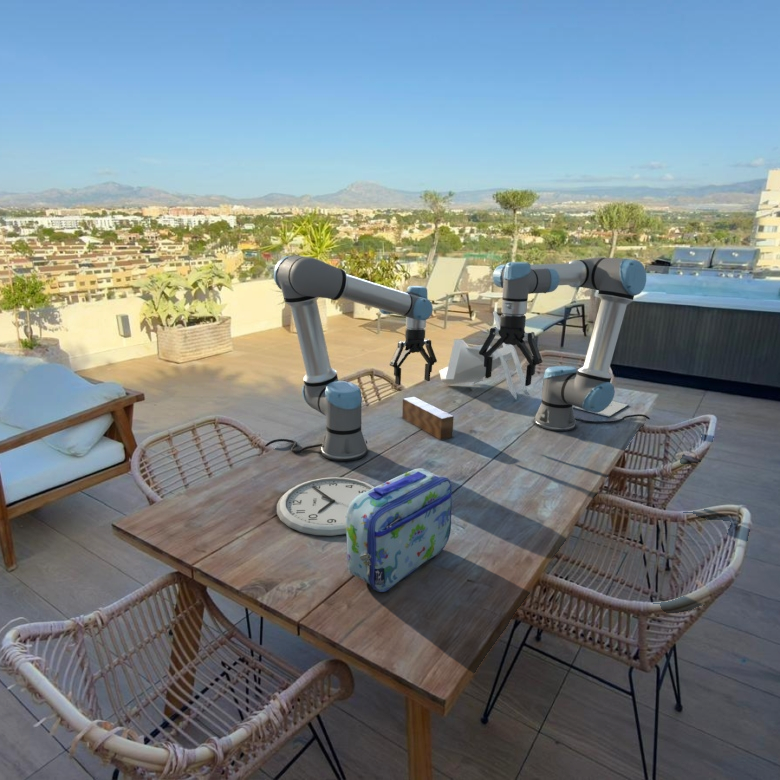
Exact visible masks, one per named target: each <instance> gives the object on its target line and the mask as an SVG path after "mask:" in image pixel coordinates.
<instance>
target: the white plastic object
mask: <svg viewBox="0 0 780 780" xmlns="http://www.w3.org/2000/svg"><path fill="white" fill-rule="evenodd" d="M492 315H493V319H494V321H495V324H496V325H495V326H496V328H498V329H500V320H501V317H500V315H499V314H498V312H497V311H496V310H495V311H492ZM500 338H501V337H500V336H499V339H500ZM482 346H483V344H479V345H473V346H469V345H468V343H466V342H465V340H464V339H463V338H460V339H458V338H454V340H453V344H452V349H451V353H450V357H449V362H448V366H446V367H444V368H442V369H440V370H439V371H438V372H439V376H440V381H442V383H443V384H444V385H445V386H449V385H458V384H467V383H468V384H469V383H473V384H477V383H480V382H482V381H484V378H485V375H486V367H484V356H483V355H480V354H479V351H480V350H481V348H482ZM501 346H502V347H499V348H498V349H497V350H496V351H495V352H494V353H493V354H492V355H491V356H490V357H493V359H492V372H494V371H495V370H496V369H497V368H499V367H500V366H502V370H503V373H504V376H505V380H506V383H507V386H508V390H509V393H510V394H511V395H512V397H513V398H514V399H515V400H517V392H516V391H517V390H516V388H515V385H514V381H513V378H512V375H511V371H510V369H509V365H508V361H510V360H513V363H514V366H515V369H516V372H517V376H518V380H519V382H520V385H521V389H522V391H523V393H524V395H525V396H526V397H528V396H531V395H530V390H529V388H528V387H529V386H525V382H526V377H525V375H524V371H523V369H522V368H523V367H522V366H521V362H520V359H519V355H518V352H517V349H516V347H515V345H511V344H505V343H503V344H502V345H501ZM491 347H492V346H491V345H490V346H489V348H488V349H487V351H488V350H489V349H490V348H491ZM487 351H486V352H487Z"/></svg>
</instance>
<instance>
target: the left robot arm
mask: <svg viewBox="0 0 780 780" xmlns="http://www.w3.org/2000/svg"><path fill="white" fill-rule="evenodd" d="M273 279H274V282H275V284H276V286H277V287H278V288H279V289H280V290H281V292H282V296H283V297H282V298H283V301H284V303H285V304H287V305H289V306H290V309H291V314H292V318H293V322H294V326H295V331H296V336H297V339H298V343H299V347H300V351H301V356H302V360H303V365H304V369H305V374H304V375H303V378H302V379H303V385H302V388H301V395H302V398H303V400H304V401H305V403H306V404H307V405H308V406H309V407H310V408H311V409H313V410H314V411H316V412H318V413H320V414H322V415H323V416H325V418H326V419H325V424H326V425H325V426H326V428H325V429H326V431H325V435H324V437H323V439H322V440H323V441H322V443H317V444H311V445H307V446H304V447H302V448H300V449H295V448H296V447H297V446H298V442H297V441H296V440H293V439H288V438H277V439H272V440H271V441H268V442H266V443H265V445H264V447H268V446H270V445H271V444H274V443H279V442H287V443H291V444H293V445H292V446H291V449H290V451H291V452H292V453H294V454H298V453H302V452H304V451H305V450H308V449H314V448H319V447H320V448H321V449H320V450H321V451H320V452H321V455H322V457H324V458H325V459H327V460H331V461H335V462H353V461H356V460H359V459H361V458H364V457H365V456H366V455H367V453H368V446H367V444H368V441H367V439H365V438H364V434H363V431H362V402H363V397H362V390H361V388H360V387H359V386H358V385H357V384H355V383H354V382H351V381H348V382H347V381H345V380H339V378H338V373H337V370H336V369H334V368H333V367H332V366H331V361H330V356H329V352H328V347H327V342H326V337H325V333H324V328H323V323H322V320H321V315H320V309H319V305H318V299H319V298H323V299H328V300H332V301H339V300H340V299H341V300H344V301H349V302H352V303H356V304H360V305H363V306H366V307H371V308H374V309H378V310H379V312H380V313H381V314H383V315H388V316H389V315H396V316H402V317H405V327H406V328H405V331H404V333H405V334H404V337H405V340H404V341H400V340H399V341H398V342H397V346H396V349H395V351H394V353H393V355H392V357H391V360H390V362H389V366H390V367H392V368H393V376H394V377H395V378H394V382H395V383H394V384H396V385H398V386H401V383H402V368H401V366H402V365H403V364H404V362H405V360H406V359H408V356H409V355H411V354H415V353H420V355H421V356H422V357H423V359H424V361H425V362H426V363H425V364H424V378H423V379H424V381H427V382H430V381H431V373H432V372H433V366H434V365H435V363H437V362H438V360H437V357H436V354H435V351H434V348H433V345H432V340H431V339H428V338H426V329H425V328H427V320H428V319H430V318H431V316H432V313H433V302H431V300H430V299H429V298H428V288H427V287H426V286H420V285H409V286H408V287H407V289H406V292H404V291H401V290H398V289H394V288H392V287H388V286H386V285H381V284H379V283H376V282H372V281H369V280H366V279H363V278H359V277H357V276H353V275H350V274H348V273H347V272H346V270H344V269H342V268H340V267H337V266H334V265H331V264H330V263H327V262H325V261H323V260H320V259H318V258H316V257H311V256H303V255H300V254H293V255H285V256H284V257H282V258H281V259H280V260H278V261H277V262H276V264H275V267H274V269H273ZM424 346H425V348H426V349H425V348H424ZM426 351H427V352H426Z"/></svg>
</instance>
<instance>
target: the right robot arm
mask: <svg viewBox="0 0 780 780" xmlns="http://www.w3.org/2000/svg"><path fill="white" fill-rule="evenodd" d="M492 281H493V284H494V285H495V286H496V287H498V288H502V299H501V310H500V312H501V313H502V314H501V315H500V329H498V328H497V326H493V327H490V329H489V334H488V336H487V338H485V341H484V342H483V344H482V345H483V346H482V348H481V350H480V351H479V354H480V355H483V356H484V367H486V375H485V377H484V378H485V379H489V378H491V377H492V372H493V371H492V359H493V357H490V356H491V355H492V354H493V353H494V352H495V351H496V350H498V349H500V348H501V346H503V345H502V344H503V343H505V344H508V345H510V344H511V345H513V346H517V348H519V350H520V351H521V353H522V355H523V356H524V358H525V359H526V361H527V362H528V364H527V365H526V373H525V374H526V375H525V381H526V382H525V386H527V387H529V386H530V385H532V376H534V375H535V374H536V368H537V367H536V366H537V365H540V364H542V363H543V358H542V356H541V352H540V350H539V348H538V344H537V342H536V333H535V332H534V331H531V332H526V319H527V317H526V314H527V310H528V298H529V295H531V294H548V293H553V292H554V291H556V290H557V289H558V287H559V286H570V287H571V288H584V289H589V290H594V291H598V292H597V296H598V297H599V299H600V303H599V307H598V311H597V314H596V318H595V322H594V325H593V328H592V333H591V337H590V341H589V344H588V348H587V351H586V355H585V358H584V363H583V366H582V367H580V368H578V369H577V367H574V366H569V365H568V366H567V365H557V366H550V367H547V368H546V369H545V371H544V375H543V378H542V379H543V381H542V392H541V402H540V405H539V407H538V410H537V411H536V413H535V417H534V424H535V425H536V426H537V427H539V428H542V429H544V430H549V431H556V432H567V431H572V430H574V429H575V428H576V421H577V422H582V423H588V424H589V423H590V424H614V423H620V422H622V421H624V420H625V419H627V418H635V417H643V418H645V419H647V420H651V418H650V417H649V416H648V415H646V414H642V413H638V414H627V415H624V416H622V418H619V419H614V420H586V419H581V418H577V417H576V416H575V413H574V407H579V408H582V409H584V410H586V411H585V412H588V411H591V412H590V413H592V412H595V413H594V414H596V413H597V412H601V411H603V410H604V409H605V408H607V407H608V406H609V405H610V403H611V402H612V401H614V397H615V392H616V390H615V386H614V385H613V384H612V383H611V381H612V376H611V374H610V373H609V371H610V367H611V364H612V360H613V356H614V352H615V350H616V345H617V342H618V338H619V335H620V332H621V328H622V324H623V321H624V317H625V313H626V310H627V306H628V305H629V304H631V303H632V302H634V299H635V296H638V295H640V294H642V291H644V289H645V286H646V283H647V271H646V269H645V266H644V264H643V263H642V262H641V261H639V260H637V259H632V258H627V257H626V258H623V257H622V258H621V257H601V256H600V257H599V256H598V257H591V258H583V259H573V260H571V261H569V262H565V263H564V262H563V263H562V262H561V263H542V264H541V263H539V264H531V263H530V262H525V261H523V262H521V261H509V262H506V264H499V265H498V266H496V268H495V269H494V271H493V274H492ZM496 335H498V336H499V339H497V340H496V341H495V343H494V344H493V345H492V346H491V344H492V343H493V341H494V340H495V337H496ZM500 337H501V338H500ZM524 338H525V339H526V340H527V342H528V346H529V348H530V349H529V348H528V346H527V344H526V342H525V340H524ZM489 346H490V347H491V348H490V349H489V350H488V351H487V349H488V348H489ZM486 351H487V352H486ZM573 406H574V407H573ZM584 410H583V411H584Z"/></svg>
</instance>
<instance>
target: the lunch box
mask: <svg viewBox="0 0 780 780" xmlns="http://www.w3.org/2000/svg"><path fill="white" fill-rule="evenodd" d="M374 487H375V488H373V489H370V490H368V491H366V492H364V493H362V494H360V495H358V496H357V497H356V498H354V500H353V501H352V502H351V504H350V505H349V507H348V510H347V515H346V534H345V535H346V559H347V561H346V562H347V567H348V571H349V573H350V574H351V575H353V576H354V577H357V578H358V579H361V580H362V581H364V582H365V583H366V584H368V585H370V587H371V588H372V589H373V590H375V591H377V592H379V593H385V592H387V591H389V590H390V589H392V588H393V587H394V586H395V585H396V584H397V583H399V582H401V581H402V580H403V579H404V578H406V577H408V576H409V575H411V573H413V572H414V571H415V570H417V569H418V568H419V567H420V566H422V564H424V563H426V562H428V560H431V559H433V558H435V557H436V556H437V555H438V554H440V553H441V552H442V551H443V550H444V549H445V547H446V546H447V543H448V541H449V539H450V536H451V531H452V511H453V510H452V509H453V508H452V507H453V504H452V503H453V501H452V500H453V499H452V483H451V480H450V479H449V478H448V477H446V476H439V475H437V474H435V473H433V472H432V471H429V470H428V469H426V468H423V467H421V468H419V467H418V468H414V469H412V470H409V471H406V472H405V473H403V474H400V475H398V476H396V477H394V478H391V479H390V480H387V481H385V482H383V483H381V484H378V485H376V486H374Z"/></svg>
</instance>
